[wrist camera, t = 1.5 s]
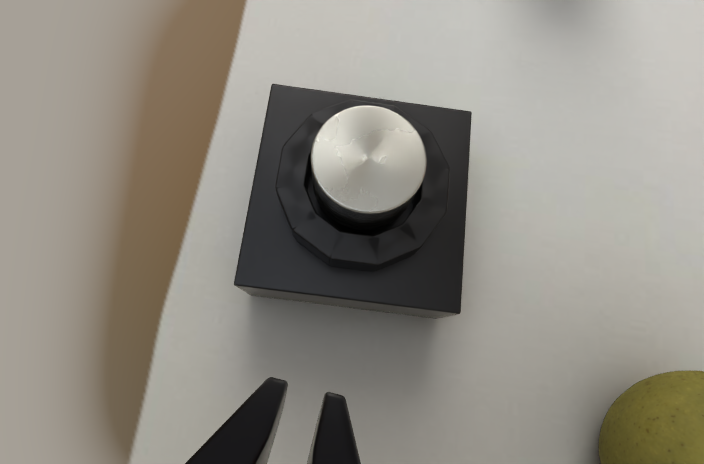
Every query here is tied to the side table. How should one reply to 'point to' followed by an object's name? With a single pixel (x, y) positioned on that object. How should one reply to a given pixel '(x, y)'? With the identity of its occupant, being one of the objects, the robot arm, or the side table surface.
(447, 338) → the side table surface
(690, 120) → the side table surface
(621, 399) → the apple
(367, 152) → the hob knob
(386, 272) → the hob block
